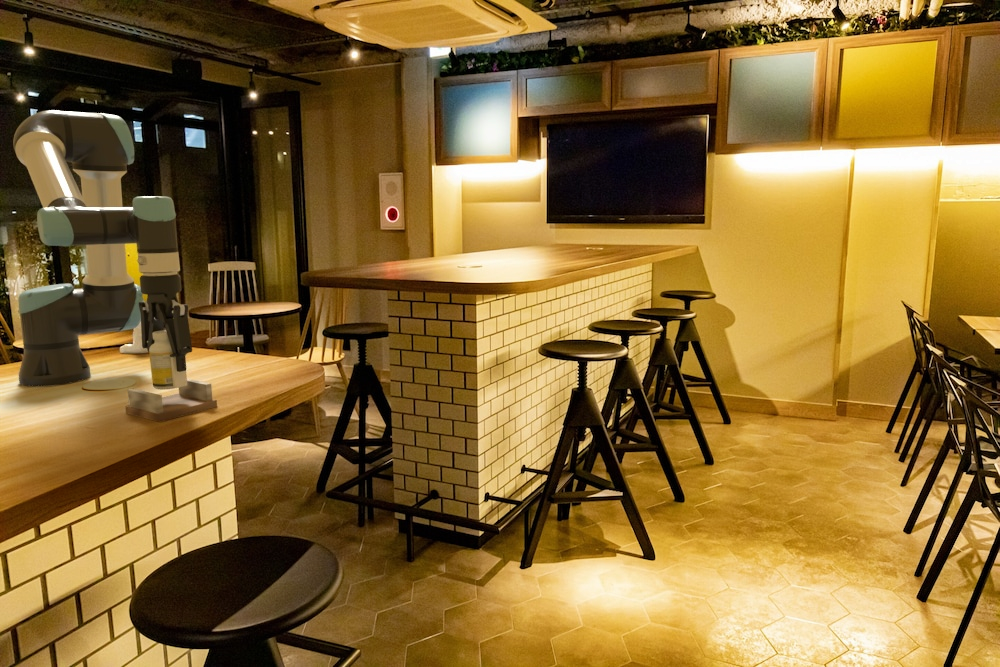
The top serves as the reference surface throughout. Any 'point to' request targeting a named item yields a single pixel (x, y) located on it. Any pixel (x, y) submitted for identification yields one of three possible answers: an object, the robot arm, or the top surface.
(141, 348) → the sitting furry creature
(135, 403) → the slot cradle
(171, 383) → the pill bottle
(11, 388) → the top surface
